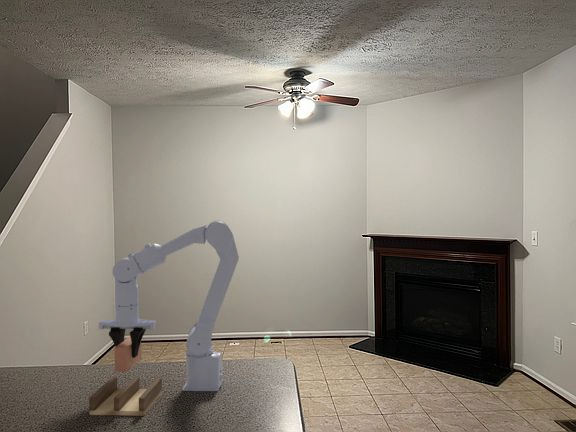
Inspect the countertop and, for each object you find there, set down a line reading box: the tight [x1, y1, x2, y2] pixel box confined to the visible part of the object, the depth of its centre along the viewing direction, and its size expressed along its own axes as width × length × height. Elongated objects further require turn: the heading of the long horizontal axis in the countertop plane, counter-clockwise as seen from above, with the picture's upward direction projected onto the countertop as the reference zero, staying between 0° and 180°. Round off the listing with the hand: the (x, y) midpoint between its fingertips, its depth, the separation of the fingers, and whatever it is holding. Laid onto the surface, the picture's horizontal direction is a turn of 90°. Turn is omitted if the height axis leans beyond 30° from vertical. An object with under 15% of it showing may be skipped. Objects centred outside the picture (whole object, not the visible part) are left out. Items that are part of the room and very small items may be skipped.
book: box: [113, 336, 142, 373], centre depth 126 cm, size 3×10×6 cm, turn 176°
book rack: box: [88, 376, 163, 417], centre depth 118 cm, size 13×13×4 cm
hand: (128, 356), depth 126 cm, fingers closed on book, 3 cm apart
